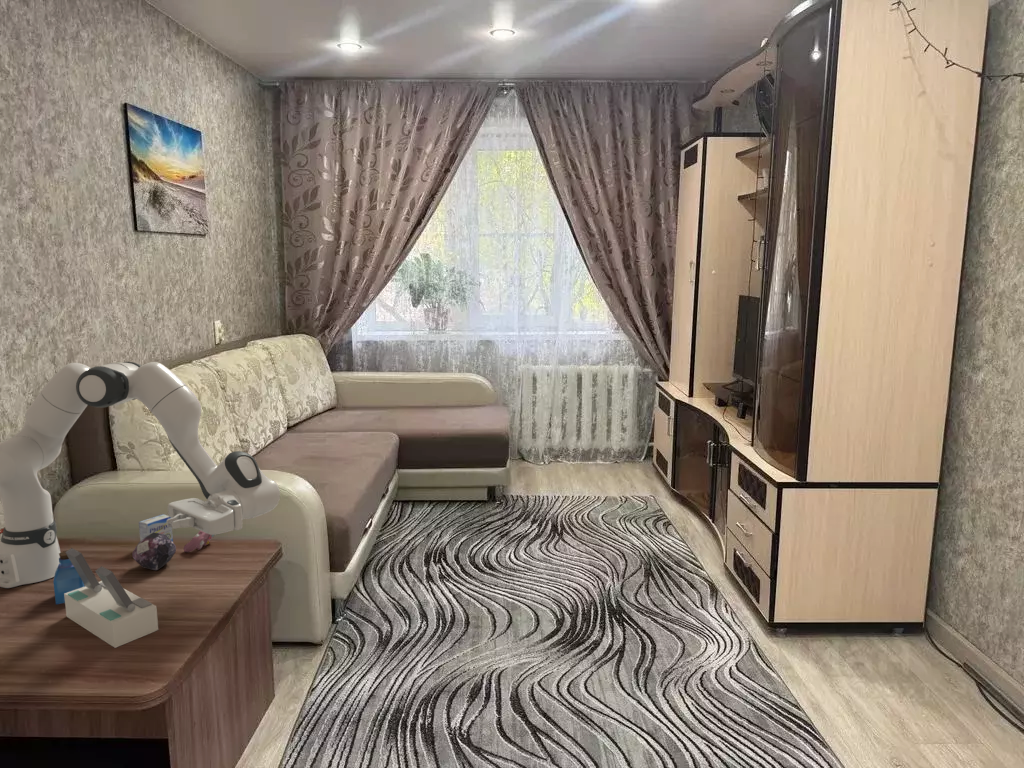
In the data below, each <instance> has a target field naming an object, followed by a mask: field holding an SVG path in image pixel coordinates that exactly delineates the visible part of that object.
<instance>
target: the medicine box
mask: <svg viewBox="0 0 1024 768" xmlns="http://www.w3.org/2000/svg"><path fill="white" fill-rule="evenodd" d="M170 518H171V517H169V516H168V514H167V515H166V514H164V513H163V514H159V515H157V516H154V517H150V518H147V519H144V520H141V521H138V529H139V539H140V540H139V542H140V541H141V540H142V539H144V538H145V537H147V536H148V535H150V534H151V533H153V532H155V533H160V534H164V535H166V536H167V537H168V538H169V539H170V540H171V541H172V542H173V543H174V537H173V528H171V527H169V526H167V522H166V521H167V519H170Z"/></svg>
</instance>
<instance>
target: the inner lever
mask: <svg viewBox="0 0 1024 768" xmlns="http://www.w3.org/2000/svg"><path fill="white" fill-rule="evenodd" d="M65 551H66V552H65V553H66V554H67V556H68V558H69V559H70V561H71V563H72V564H73V566H74V568H75V569H76V571H77V573H78V574H79V576H80V578H81V579H82V581H83V583H84V586H85V587H87V588H89V589H91V590H92V591H94V592H96V593H98V592H100V591H101V590H102V586H101V585H100V584H99V582H100V581H99V580H98V579H97V578H96V576H95V574H94V572H93V571H92V569H91V567H90V566H89V563H88V561H87V560H86V558H85V557H84V555H83V553H82V552H80V551H79V550H76V549H75V548H72V547H71V548H70V549H68V550H65Z"/></svg>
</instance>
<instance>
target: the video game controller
mask: <svg viewBox="0 0 1024 768" xmlns="http://www.w3.org/2000/svg"><path fill="white" fill-rule="evenodd" d="M214 537H215V535H210V534H207V533H205V532H203V531H200V530H198V533H196V534H195V535H194V536H193V537H192V539H190V541H189V542H187V543H186V544H185V545H184V546H183V551H184V552H185V553H190V552H193V551H194V550H198V551H200V550H201V549H202V548H203V546H208V545H209V543H210V541H211V540H212V539H213V538H214Z"/></svg>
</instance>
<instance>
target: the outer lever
mask: <svg viewBox="0 0 1024 768" xmlns="http://www.w3.org/2000/svg"><path fill="white" fill-rule="evenodd" d="M94 571H95V573H96V574H97V576H98V578H99V579H100V581H102V582H103V583H104V585H105V586H106V588H107V589H108V591H109V592H110V594H111V595H112V597H113V598H114V600H115V601H116V604H117V605H119V606H120V607H122V608H124V609H126V610H127V611H129V612H132V611H133V610H134V609H135V604H133V602H132V601H131V599H130V598H129V596H128V595H127V593H126V592H125V590H124V589H125V588H124V587H123V585H122V584H121V583H120V581H119V580H118V578H117V577H116V575H115V574H114V572H113V571H111V570H109V569H108V568H106V567H104V566H100V567H98V568H97V569H96V570H94ZM123 588H124V589H123Z"/></svg>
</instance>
